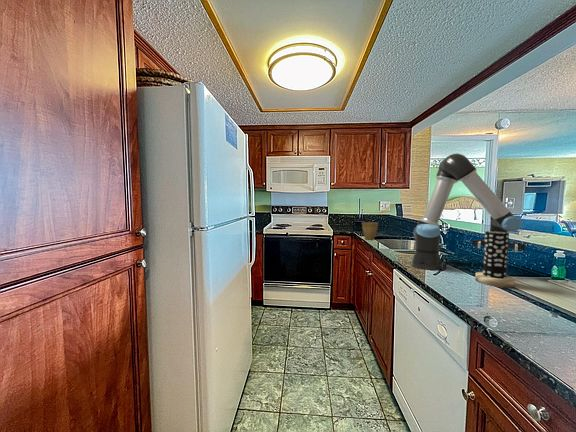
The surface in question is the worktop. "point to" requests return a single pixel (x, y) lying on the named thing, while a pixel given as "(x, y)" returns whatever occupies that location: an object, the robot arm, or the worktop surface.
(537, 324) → the worktop surface
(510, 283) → the maple plinth
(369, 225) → the plant pot
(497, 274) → the spotted tube
